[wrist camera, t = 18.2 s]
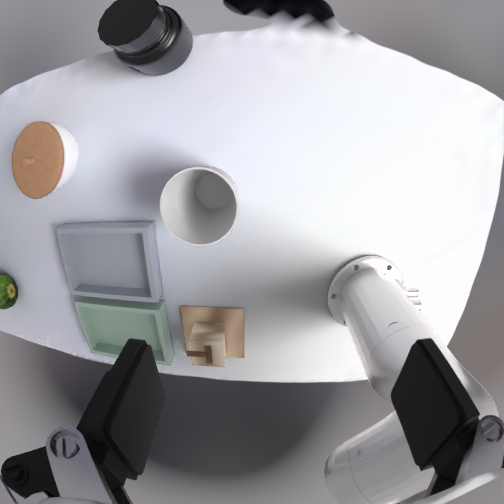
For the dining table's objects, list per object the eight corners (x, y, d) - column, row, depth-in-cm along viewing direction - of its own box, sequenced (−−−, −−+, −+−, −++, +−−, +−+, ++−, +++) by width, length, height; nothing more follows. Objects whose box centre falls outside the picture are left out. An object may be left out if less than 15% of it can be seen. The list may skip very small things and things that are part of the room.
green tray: (164, 300, 44) (158, 310, 41) (174, 354, 48) (170, 365, 45) (81, 293, 44) (73, 301, 41) (97, 343, 48) (91, 352, 45)
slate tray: (154, 221, 39) (147, 227, 36) (163, 292, 43) (157, 302, 40) (66, 223, 39) (55, 229, 36) (79, 286, 43) (71, 294, 41)
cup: (202, 229, 39) (185, 258, 30) (173, 179, 36) (145, 193, 27) (255, 203, 37) (253, 224, 28) (225, 149, 35) (213, 152, 26)
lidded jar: (98, 174, 36) (61, 185, 27) (52, 196, 37) (15, 212, 29) (82, 109, 32) (43, 107, 24) (37, 138, 34) (-2, 144, 25)
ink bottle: (140, 21, 27) (102, -10, 16) (199, 18, 28) (177, -22, 17) (127, 80, 31) (81, 64, 20) (187, 79, 31) (156, 55, 20)
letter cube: (225, 322, 44) (222, 343, 39) (227, 346, 46) (224, 367, 41) (191, 321, 44) (184, 341, 39) (194, 344, 46) (188, 365, 41)
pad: (243, 308, 44) (243, 310, 43) (244, 355, 47) (244, 357, 47) (180, 305, 44) (180, 307, 43) (187, 352, 48) (187, 354, 47)
